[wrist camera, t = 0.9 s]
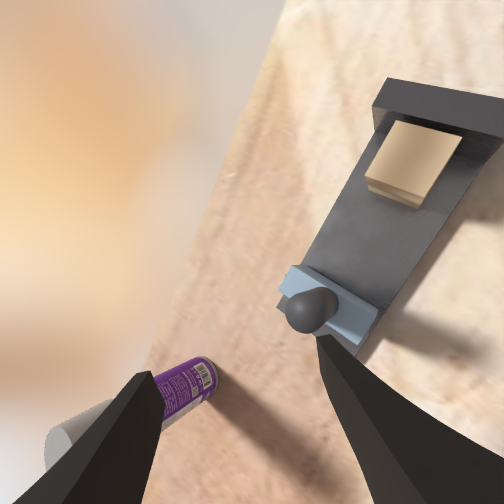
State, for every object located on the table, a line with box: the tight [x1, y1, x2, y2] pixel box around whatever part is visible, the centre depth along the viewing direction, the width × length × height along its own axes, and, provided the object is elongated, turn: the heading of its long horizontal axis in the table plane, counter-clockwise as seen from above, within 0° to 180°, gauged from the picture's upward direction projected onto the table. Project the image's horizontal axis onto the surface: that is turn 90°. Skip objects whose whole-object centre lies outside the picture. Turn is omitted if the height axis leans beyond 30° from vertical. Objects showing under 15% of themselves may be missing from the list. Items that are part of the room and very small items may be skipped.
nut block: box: [365, 120, 462, 209], centre depth 18 cm, size 4×4×4 cm
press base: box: [276, 77, 504, 357], centre depth 20 cm, size 8×20×5 cm, turn 149°
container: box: [44, 356, 219, 471], centre depth 24 cm, size 5×5×15 cm
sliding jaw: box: [278, 265, 378, 345], centre depth 19 cm, size 7×2×8 cm, turn 59°
